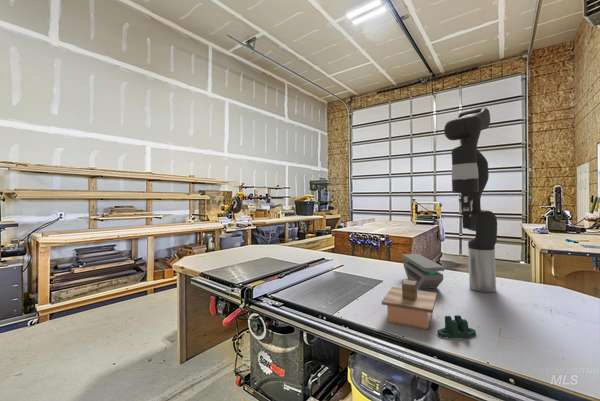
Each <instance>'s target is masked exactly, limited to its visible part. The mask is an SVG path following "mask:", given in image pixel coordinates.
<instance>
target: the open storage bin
mask: <svg viewBox="0 0 600 401" xmlns="http://www.w3.org/2000/svg"><path fill="white" fill-rule="evenodd" d="M386 306H387V305H386ZM432 315H433V313H428V312H422V311H417V310H411V309H405V308H399V307H393V306H387V322H388V321H389V322H388V323H392V322H394V323H393V324H397V323H399V324H398V325H402V324H404V325H403V326H407V325H409V326H408V327H411V326H413V327H412V328H416V327H418V328H417V329H421V328H422V330H426V329H428V330H429V327H430V323H431V319H432Z"/></svg>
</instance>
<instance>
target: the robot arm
mask: <svg viewBox="0 0 600 401" xmlns="http://www.w3.org/2000/svg"><path fill="white" fill-rule="evenodd" d="M490 126H491V113H490V110H489V109H488V108H487V107H482V106H481V107H476V108H472V109H467V110H463V111H461V112H459V114H458V117H457V118H452V119H449V120H447V122H446V123H445V125H444V128H443V130H444V131H443V133H444V136H445V137H446V138H447V139H448V140H449V141H458V140H460V141H459V142H460V146H455V147H454V148H453V149H451V189H452V190H451V191H452V193H454V194H461V195H460V197H459V198H458V204H459V211H460V213H461V219H462V228H463V229H464V230H465V229H467V230H469V231H473V232H475V236H474V238H473V239H469V240H468V242H467V248H468V252H467V253H468V254H467V255H468V275H469V278H468V279H469V280H468V282H469V289H471V290H473V291H475V292H481V293H494V292H497V280H496V277H497V275H496V254H495V253H496V250H495V249H496V248H495V247H496V243H497V240H498V219H497V216H496V215H495V213H494V212H493V211H490V210H487V209H486V210H485V209H482V208H481V207H482V206H481V197H482V194H483V193H484V189H485V188H486V186H487V183H488V181H489V162H488V161H487V159H486V157H485V156H484V154H482V152H481V151H480V150H478V143H479V138H480V136H481V132H482V131H484V130H487V129H488V128H489V127H490Z"/></svg>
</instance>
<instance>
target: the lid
mask: <svg viewBox="0 0 600 401" xmlns="http://www.w3.org/2000/svg"><path fill="white" fill-rule="evenodd" d="M437 294H438V293H437V292H433V291H426V290H418V288H417V281H409V280H408V279H403V281H402V283H401V287H395V286H391V288H390V289H389V290H388V292H387V293H386V294H385V296H384V297H383V299H382V300H381V305H383V306H393V307H399V308H405V309H411V310H417V311H422V312H428V313H432V314H433V313H434V309H435V305H436V301H437V297H438V296H437Z"/></svg>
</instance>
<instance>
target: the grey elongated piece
mask: <svg viewBox="0 0 600 401" xmlns="http://www.w3.org/2000/svg"><path fill="white" fill-rule="evenodd" d="M401 257H402V258H403V259H404V260H405V261H403V268H404V271H405V275H406V277H407V280H409V281H417V289H438V287H439V286H440V284H441V283H442V282H443V280H444V274H443V273H442V272H444V271H445V267H444V266H443V265H441V264H439V263H437V262H435V261H434V260H431V259H429V258H427V257H426V256H423V255H422V254H419V253H407V254H406V253H405V254H401Z"/></svg>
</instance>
